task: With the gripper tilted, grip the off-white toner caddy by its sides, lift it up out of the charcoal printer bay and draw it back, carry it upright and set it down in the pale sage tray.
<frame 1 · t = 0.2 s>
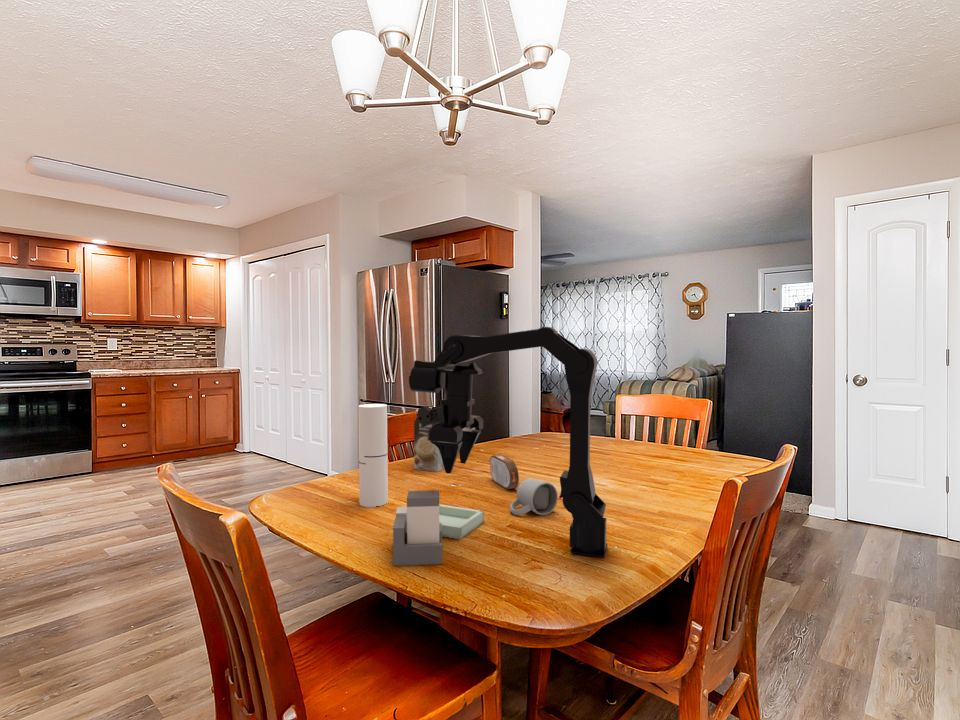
hand: (455, 468, 113), 14 cm above the table, tool pointing down, fingers open, 9 cm apart
printer bay: (423, 555, 103), on the table
tray: (446, 526, 119), on the table
toner caddy: (423, 555, 103), on the table
ceramic mug: (532, 512, 129), on the table
tin: (503, 486, 152), on the table
coffee box: (430, 469, 172), on the table
cylindrical container: (373, 503, 136), on the table
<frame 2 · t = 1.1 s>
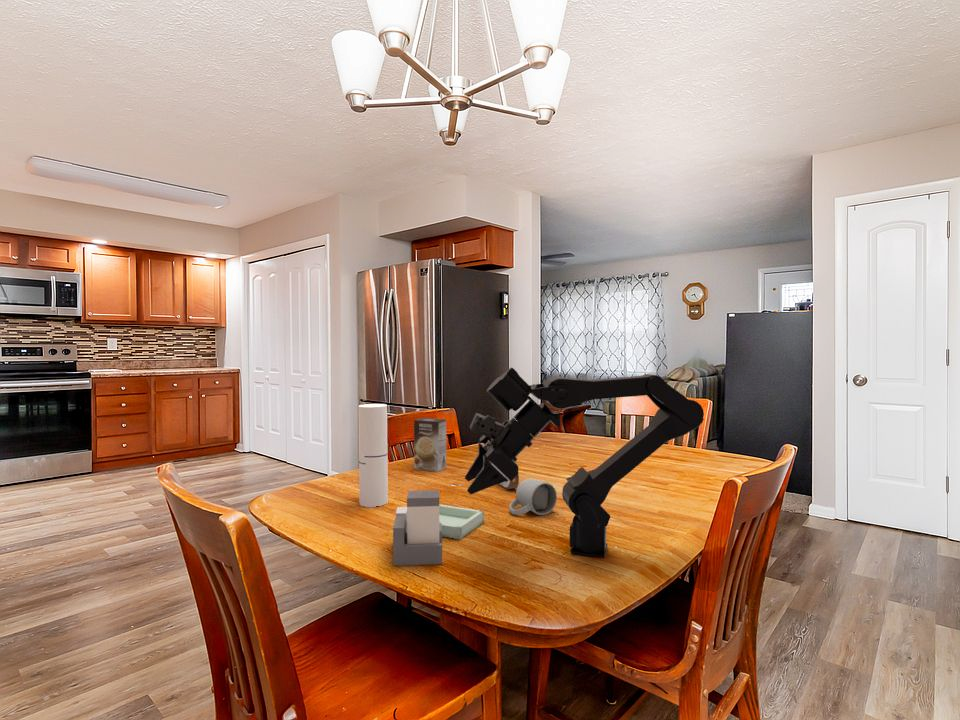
hand: (467, 485, 103), 13 cm above the table, tool tilted 45°, fingers open, 9 cm apart
nothing on the table moved.
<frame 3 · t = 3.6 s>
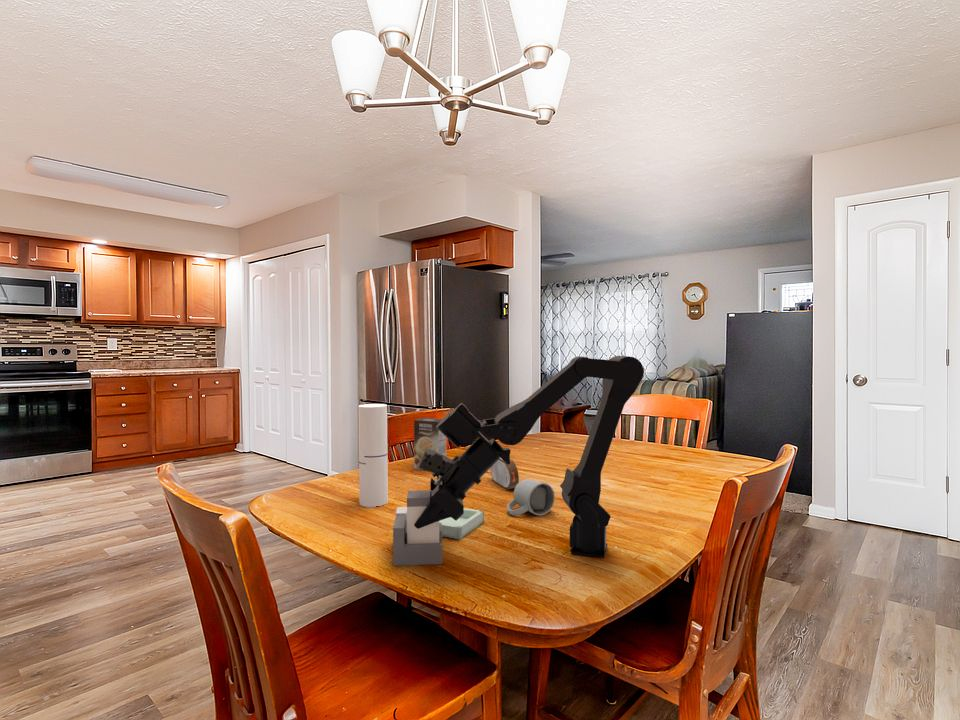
hand: (416, 522, 102), 7 cm above the table, tool tilted 45°, fingers closed on toner caddy, 5 cm apart
toner caddy: (423, 555, 103), on the table, touching gripper
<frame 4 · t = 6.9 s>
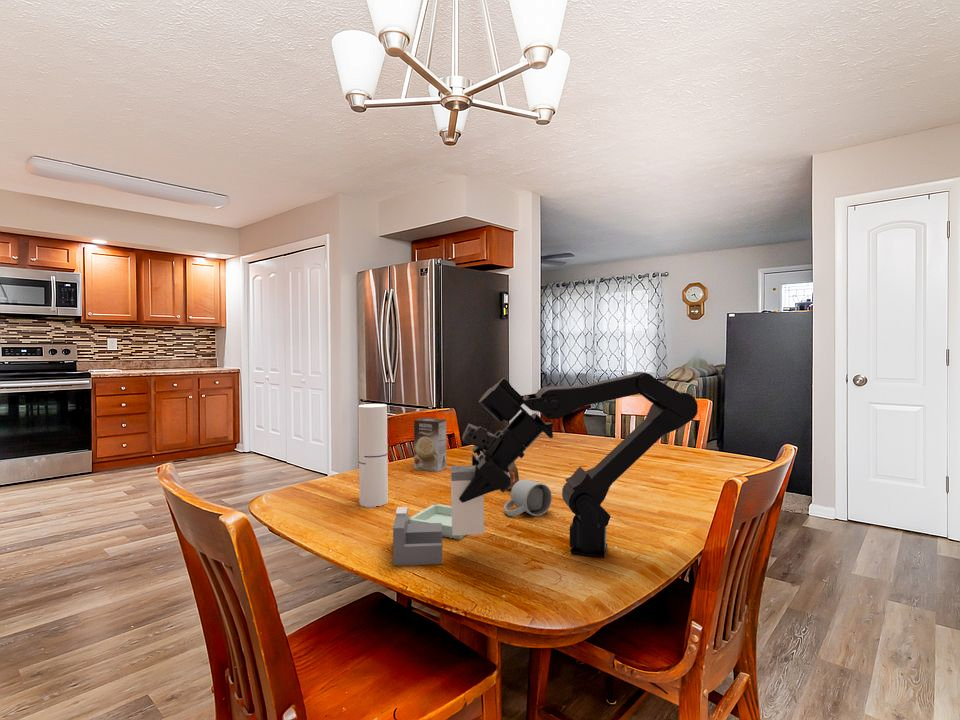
hand: (460, 496, 103), 11 cm above the table, tool tilted 45°, fingers closed on toner caddy, 5 cm apart
toner caddy: (467, 530, 103), point 5 cm above the table, touching gripper
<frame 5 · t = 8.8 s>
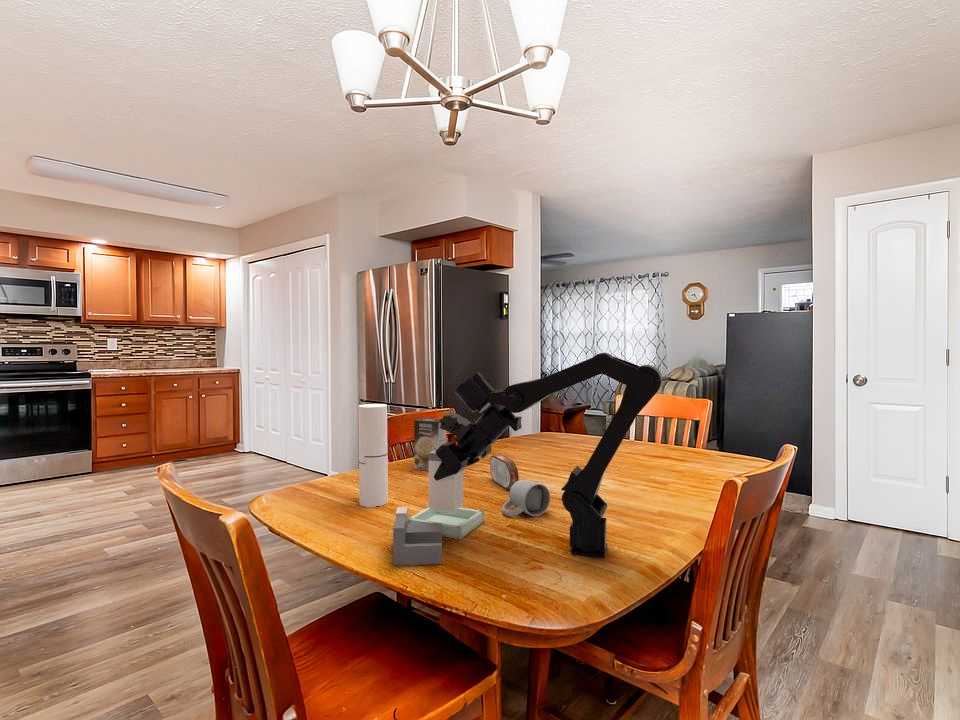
hand: (440, 475, 116), 12 cm above the table, tool tilted 45°, fingers closed on toner caddy, 5 cm apart
toner caddy: (446, 506, 116), point 5 cm above the table, touching gripper
when the fingers open (8 cm above the table, at t = 10.4 s): toner caddy stays where it is, resting on tray.
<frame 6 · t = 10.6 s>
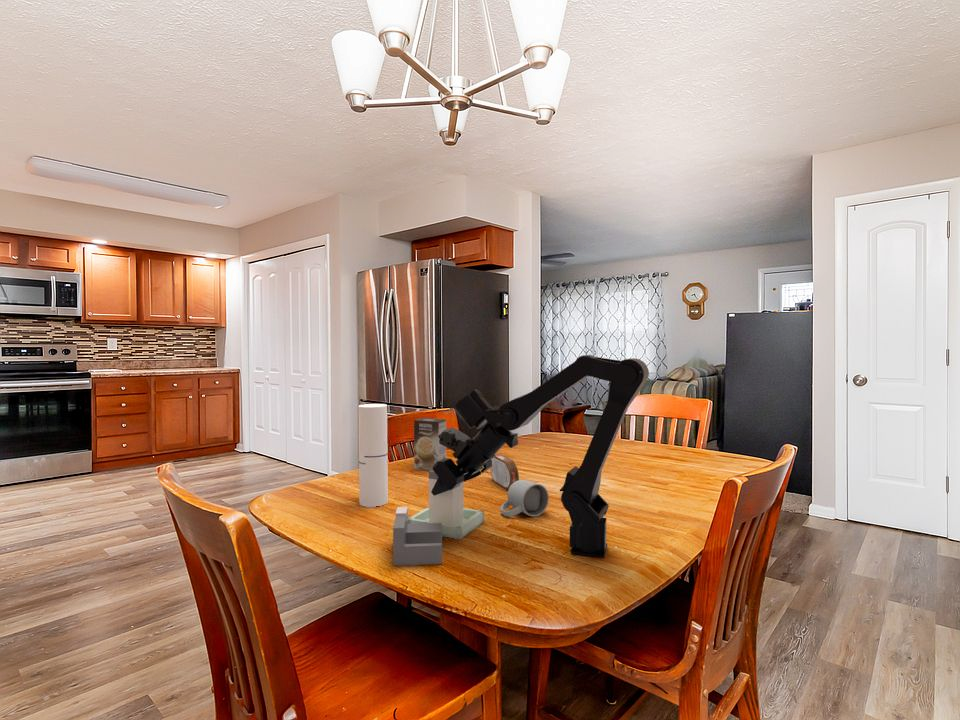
hand: (440, 489, 119), 8 cm above the table, tool tilted 45°, fingers open, 7 cm apart
toner caddy: (446, 523, 119), point 1 cm above the table, touching tray
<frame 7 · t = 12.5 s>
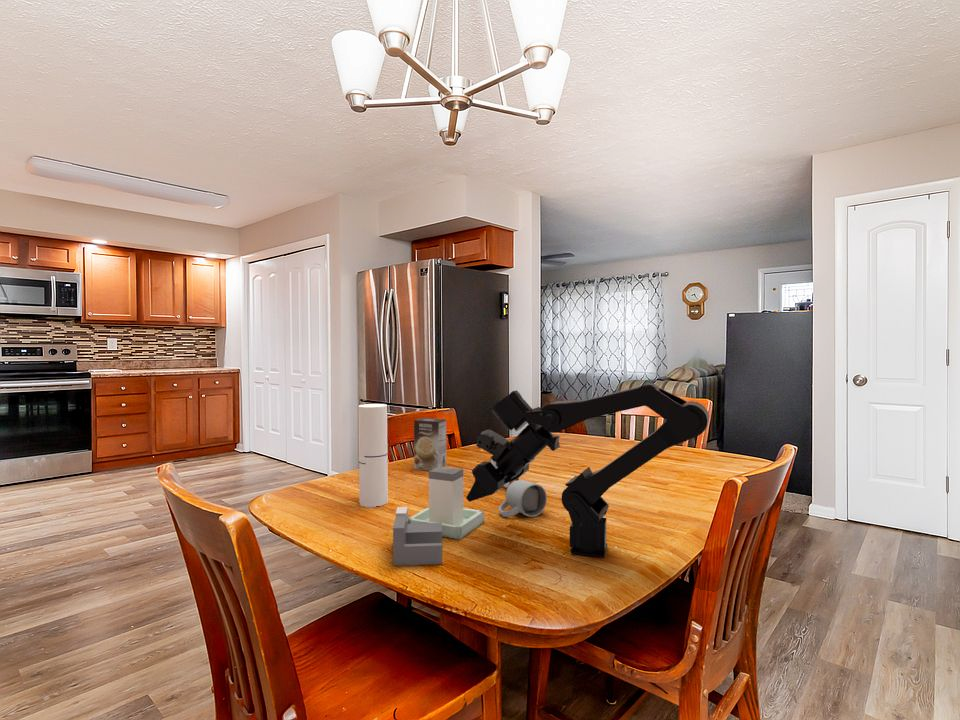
hand: (477, 494, 115), 8 cm above the table, tool tilted 45°, fingers open, 9 cm apart
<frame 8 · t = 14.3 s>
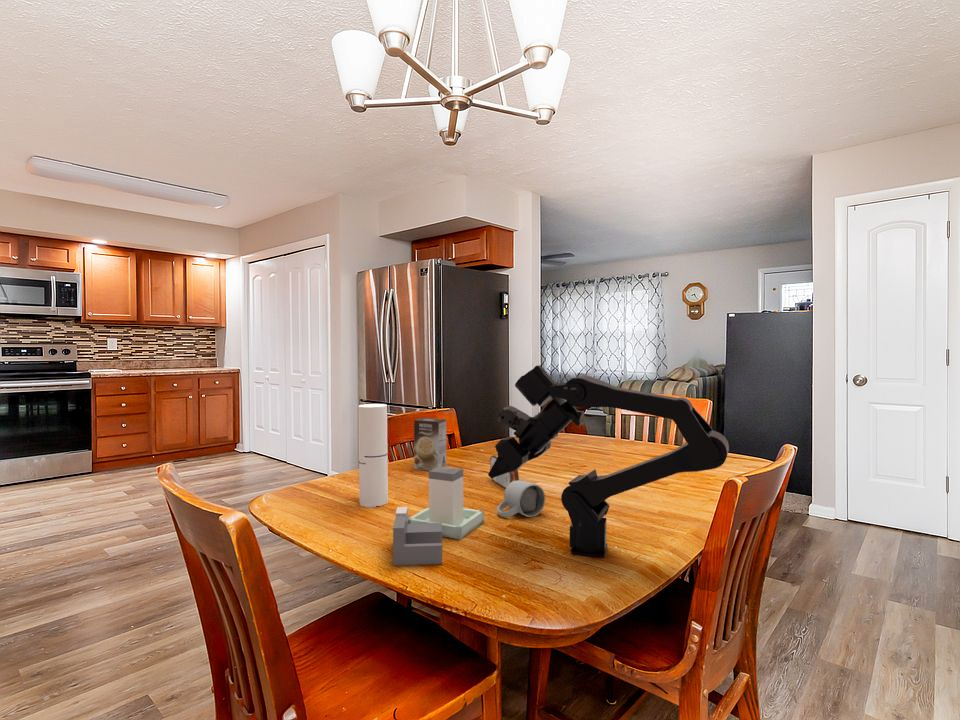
hand: (498, 471, 113), 14 cm above the table, tool tilted 45°, fingers open, 9 cm apart
at the end: toner caddy 0.0 cm off-centre on the tray, point 0.6 cm above the tray's base; toner caddy tilted 0°; the gripper is holding nothing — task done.
